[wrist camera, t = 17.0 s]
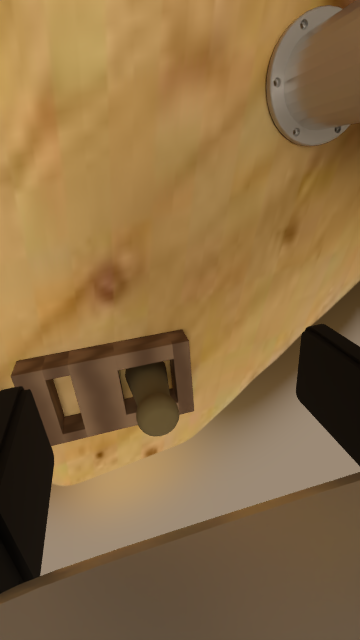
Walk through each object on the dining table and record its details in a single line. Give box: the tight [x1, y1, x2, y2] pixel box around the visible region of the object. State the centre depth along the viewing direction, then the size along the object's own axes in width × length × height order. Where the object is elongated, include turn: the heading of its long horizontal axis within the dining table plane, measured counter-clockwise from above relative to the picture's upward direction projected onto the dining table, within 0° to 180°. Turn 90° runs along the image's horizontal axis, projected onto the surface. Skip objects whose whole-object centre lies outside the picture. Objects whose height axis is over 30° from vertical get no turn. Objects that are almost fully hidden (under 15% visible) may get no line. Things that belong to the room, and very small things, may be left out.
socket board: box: [11, 330, 194, 446], centre depth 44 cm, size 22×12×4 cm, turn 95°
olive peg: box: [125, 361, 179, 436], centre depth 41 cm, size 6×6×11 cm
